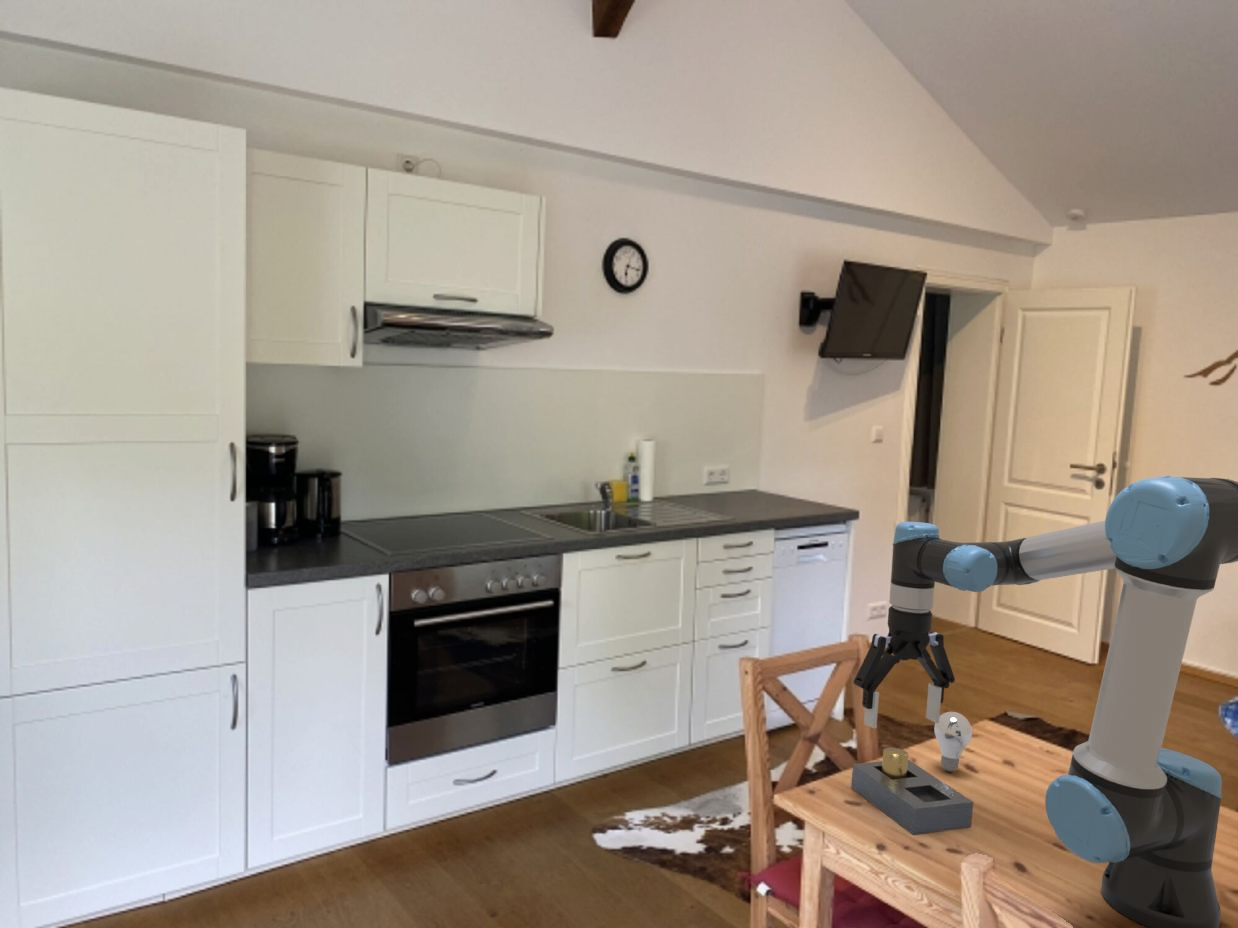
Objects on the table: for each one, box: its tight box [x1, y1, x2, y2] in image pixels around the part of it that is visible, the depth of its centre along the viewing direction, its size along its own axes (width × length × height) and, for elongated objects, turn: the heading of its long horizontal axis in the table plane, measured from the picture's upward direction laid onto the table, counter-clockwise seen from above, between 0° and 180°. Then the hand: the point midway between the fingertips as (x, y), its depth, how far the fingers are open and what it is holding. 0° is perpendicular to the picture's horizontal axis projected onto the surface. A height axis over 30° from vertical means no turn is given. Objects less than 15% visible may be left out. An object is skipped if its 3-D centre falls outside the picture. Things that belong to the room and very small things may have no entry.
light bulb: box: [933, 711, 973, 774], centre depth 178 cm, size 7×7×12 cm
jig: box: [850, 759, 974, 836], centre depth 162 cm, size 18×12×4 cm, turn 20°
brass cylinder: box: [882, 747, 909, 780], centre depth 166 cm, size 4×4×8 cm
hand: (901, 722), depth 165 cm, fingers open, 13 cm apart
